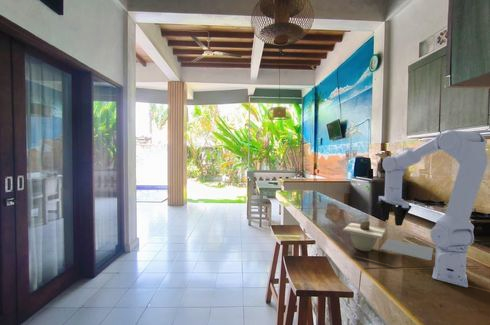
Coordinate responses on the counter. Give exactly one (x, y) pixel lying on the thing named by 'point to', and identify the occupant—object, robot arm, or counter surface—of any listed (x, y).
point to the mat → (408, 249)
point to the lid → (365, 229)
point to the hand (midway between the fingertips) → (391, 222)
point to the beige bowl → (363, 242)
